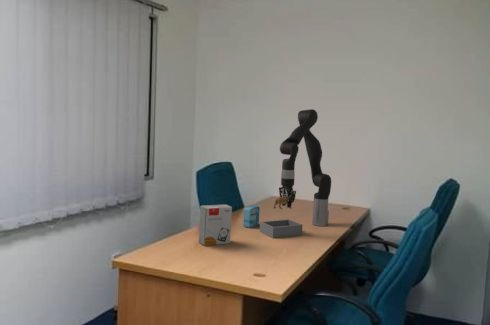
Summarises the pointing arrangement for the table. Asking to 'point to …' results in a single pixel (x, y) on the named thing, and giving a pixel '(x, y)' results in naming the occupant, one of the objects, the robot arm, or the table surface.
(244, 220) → the data package
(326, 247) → the table surface
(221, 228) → the hard drive box
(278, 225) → the bin
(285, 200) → the lion figurine
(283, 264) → the table surface
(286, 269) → the table surface
